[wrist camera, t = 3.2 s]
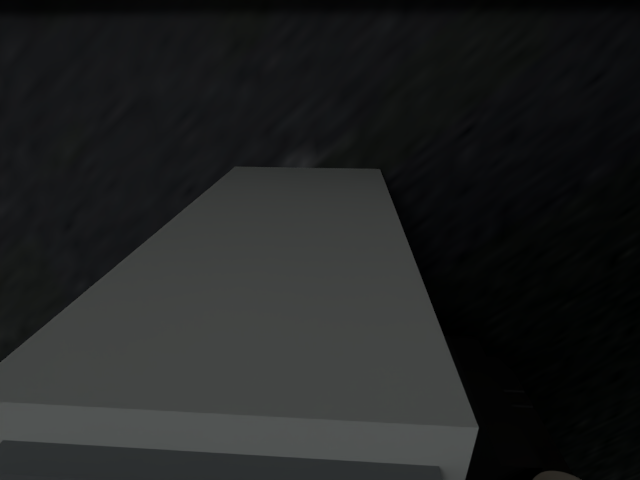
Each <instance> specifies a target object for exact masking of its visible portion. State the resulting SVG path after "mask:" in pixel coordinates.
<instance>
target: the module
mask: <svg viewBox="0 0 640 480" xmlns="http://www.w3.org/2000/svg"><path fill="white" fill-rule="evenodd" d="M478 429H479V427H478V424H477V422H476V419H475V417H474V414H473V411H472V409H471V406H470V403H469V401H468V398H467V396H466V393H465V390H464V388H463V385H462V382H461V380H460V377H459V375H458V372H457V369H456V367H455V364H454V362H453V359H452V356H451V354H450V351H449V348H448V346H447V343H446V341H445V338H444V335H443V333H442V330H441V328H440V325H439V322H438V320H437V317H436V314H435V312H434V309H433V307H432V304H431V301H430V299H429V296H428V294H427V291H426V288H425V286H424V283H423V280H422V278H421V275H420V273H419V270H418V267H417V265H416V262H415V260H414V257H413V254H412V252H411V249H410V246H409V244H408V241H407V239H406V236H405V233H404V231H403V228H402V226H401V223H400V220H399V218H398V215H397V212H396V210H395V207H394V205H393V202H392V199H391V197H390V194H389V191H388V189H387V186H386V184H385V181H384V178H383V176H382V173H381V171H380V169H345V168H282V167H234V168H233V169H232V170H231V171H230V172H228V173H227V174H226V175H225V176H224V177H222V178H221V179H220V180H219V181H218V182H216V183H215V184H214V185H213V186H212V187H210V188H209V189H208V190H207V191H206V192H204V193H203V194H202V195H201V196H200V197H198V198H197V199H196V200H195V201H194V202H192V203H191V204H190V205H189V206H188V207H186V208H185V209H184V210H183V211H182V212H180V213H179V214H178V215H177V216H176V217H174V218H173V219H172V220H171V221H170V222H168V223H167V224H166V225H165V226H164V227H162V228H161V229H160V230H159V231H158V232H156V233H155V234H154V235H153V236H152V237H150V238H149V239H148V240H147V241H146V242H144V243H143V244H142V245H141V246H140V247H138V248H137V249H136V250H135V251H134V252H132V253H131V254H130V255H129V256H128V257H126V258H125V259H124V260H123V261H122V262H120V263H119V264H118V265H117V266H116V267H114V268H113V269H112V270H111V271H110V272H108V273H107V274H106V275H105V276H104V277H102V278H101V279H100V280H99V281H98V282H96V283H95V284H94V285H93V286H92V287H90V288H89V289H88V290H87V291H86V292H84V293H83V294H82V295H81V296H80V297H78V298H77V299H76V300H75V301H74V302H72V303H71V304H70V305H69V306H68V307H66V308H65V309H64V310H63V311H62V312H60V313H59V314H58V315H57V316H56V317H54V318H53V319H52V320H51V321H50V322H48V323H47V324H46V325H45V326H44V327H42V328H41V329H40V330H39V331H38V332H36V333H35V334H34V335H33V336H32V337H30V338H29V339H28V340H27V341H26V342H24V343H23V344H22V345H21V346H20V347H18V348H17V349H16V350H15V351H14V352H12V353H11V354H10V355H9V356H8V357H6V358H5V359H4V360H3V361H2V362H0V480H465V479H466V475H467V471H468V467H469V463H470V460H471V456H472V452H473V448H474V444H475V441H476V437H477V433H478Z"/></svg>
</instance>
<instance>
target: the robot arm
mask: <svg viewBox="0 0 640 480" xmlns="http://www.w3.org/2000/svg"><path fill="white" fill-rule="evenodd" d="M444 338H445V341H446V343H447V346H448V348H449V351H450V354H451V356H452V359H453V362H454V364H455V367H456V369H457V372H458V375H459V377H460V380H461V382H462V385H463V388H464V390H465V393H466V396H467V398H468V401H469V403H470V406H471V409H472V411H473V414H474V417H475V419H476V422H477V424H478V427H479V429H478V433H477V437H476V441H475V444H474V448H473V452H472V456H471V460H470V463H469V467H468V471H467V475H466V479H465V480H581V479H579V478H577V477H575V476H574V475H573V474H572V472H571V471H570V469H569V467H568V466H567V464H566V462H565V460H564V459H563V457H562V455H561V453H560V452H559V450H558V448H557V446H556V445H555V443H554V441H553V439H552V438H551V436H550V434H549V432H548V431H547V429H546V427H545V425H544V424H543V422H542V420H541V418H540V417H539V415H538V413H537V411H536V410H535V409H533V404H532V403H531V401H530V399H529V397H528V396H527V394H525V393H524V389H523V387H522V385H521V384H520V382H519V380H518V378H517V377H516V375H515V373H514V372H513V371H512V370H511V369H510V368H509V367H508V366H506V365H505V364H504V363H503V362H502V361H501V360H500V359H499V358H498V357H486V355H485V353H484V351H483V349H482V347H481V345H480V343H479V341H478V339H477V338H476V337H475V336H455V335H446V336H445V337H444Z"/></svg>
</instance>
